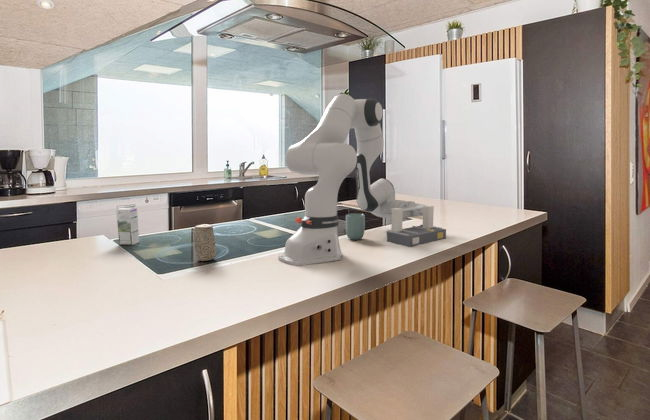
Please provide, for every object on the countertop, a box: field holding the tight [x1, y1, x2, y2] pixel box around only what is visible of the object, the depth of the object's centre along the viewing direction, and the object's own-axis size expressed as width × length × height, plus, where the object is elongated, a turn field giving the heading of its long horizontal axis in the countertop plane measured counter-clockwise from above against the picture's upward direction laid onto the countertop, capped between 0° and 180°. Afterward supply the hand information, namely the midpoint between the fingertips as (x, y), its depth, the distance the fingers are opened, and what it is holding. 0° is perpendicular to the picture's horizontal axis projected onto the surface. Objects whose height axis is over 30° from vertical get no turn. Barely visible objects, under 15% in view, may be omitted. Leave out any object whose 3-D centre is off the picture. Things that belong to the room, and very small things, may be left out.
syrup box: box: [115, 206, 140, 246], centre depth 170 cm, size 6×6×14 cm
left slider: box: [390, 208, 403, 232], centre depth 169 cm, size 3×3×9 cm
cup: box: [345, 213, 366, 241], centre depth 175 cm, size 8×8×10 cm
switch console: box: [386, 224, 447, 248], centre depth 172 cm, size 22×12×4 cm, turn 128°
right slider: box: [422, 204, 435, 229], centre depth 175 cm, size 3×3×9 cm
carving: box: [193, 223, 217, 262], centre depth 144 cm, size 6×8×12 cm
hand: (425, 213), depth 176 cm, fingers closed, pressing on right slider
